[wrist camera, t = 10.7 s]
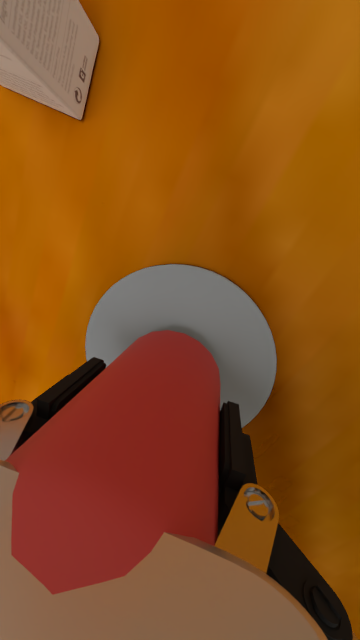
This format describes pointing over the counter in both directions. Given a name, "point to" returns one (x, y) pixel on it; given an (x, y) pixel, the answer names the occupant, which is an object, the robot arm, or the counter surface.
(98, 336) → the slate mat
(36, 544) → the beer can
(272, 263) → the counter surface
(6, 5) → the skincare box
